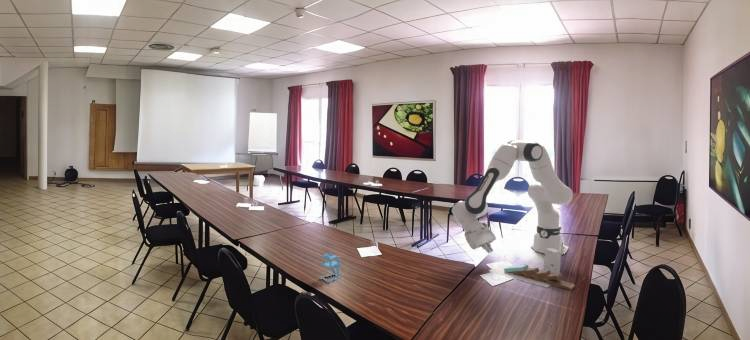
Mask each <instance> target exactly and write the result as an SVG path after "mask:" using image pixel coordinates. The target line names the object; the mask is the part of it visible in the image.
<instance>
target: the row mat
mask: <svg viewBox="0 0 750 340" xmlns="http://www.w3.org/2000/svg"><path fill="white" fill-rule="evenodd" d="M506 267H508V265H504V264H499V265H497V266H495V267H493V268H491V269H489V270H488V272H490V273H493V274H497V275H501V276H504V277H508V278H512V279H515V280H519V281H521V282H527V283H530V284H533V285H536V286H540V287H544V288H549V287H550V286H551V285H550V284H547V280H538V281H536V280H535V277H529V278H525V276H524V274H520V275H514V271H513V272H504V268H506Z"/></svg>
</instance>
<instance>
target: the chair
mask: <svg viewBox="0 0 750 340" xmlns="http://www.w3.org/2000/svg"><path fill="white" fill-rule="evenodd" d="M321 258H322V261H323V262H322V263H321V267H325V268H327V269H330V270H331V272H332V274H326V275H322V276H319V279H320V278H323V277H324V276H330V275H336V274H337V276H333V278H332V279H331V278H330V279H328V278H323V279H325V280H327V281H329V282H331V281H333V280H334V279H335V278H337V277H338V276H340V277H341V271H340V268H341V267H342V263H341V262H340V260H341V256H338V255H335V254H333V253H329V252H327V253H325V254H324V255H322V256H321ZM335 259H337V261H334V260H335ZM326 260H328V262H326ZM337 279H338V278H337ZM334 281H335V280H334ZM334 281H333V282H334ZM329 282H328V283H329ZM331 283H332V282H331Z"/></svg>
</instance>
